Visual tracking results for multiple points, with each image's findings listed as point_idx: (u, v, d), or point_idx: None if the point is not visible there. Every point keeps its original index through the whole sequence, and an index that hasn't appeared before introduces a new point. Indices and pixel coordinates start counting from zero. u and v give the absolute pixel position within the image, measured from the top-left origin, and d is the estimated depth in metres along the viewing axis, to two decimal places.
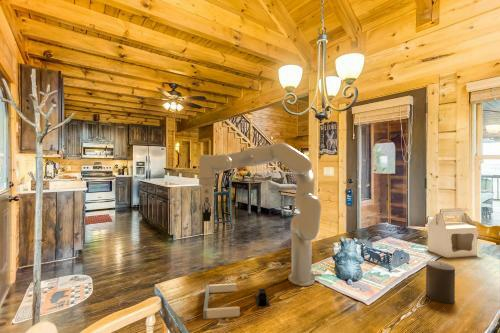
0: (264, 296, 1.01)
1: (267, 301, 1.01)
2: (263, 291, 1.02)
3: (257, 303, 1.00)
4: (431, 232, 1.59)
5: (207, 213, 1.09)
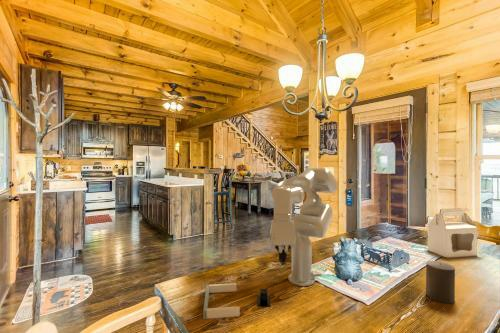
0: (265, 296, 1.00)
1: (268, 301, 1.01)
2: (264, 291, 1.02)
3: (258, 303, 1.00)
4: (431, 232, 1.59)
5: None
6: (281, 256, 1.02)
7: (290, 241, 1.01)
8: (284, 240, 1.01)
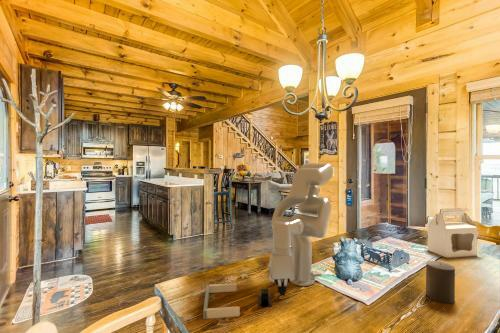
0: (266, 296, 1.00)
1: (269, 301, 1.01)
2: (265, 291, 1.02)
3: (259, 303, 1.00)
4: (431, 232, 1.59)
5: None
6: (280, 289, 1.02)
7: (289, 275, 1.02)
8: (283, 273, 1.01)
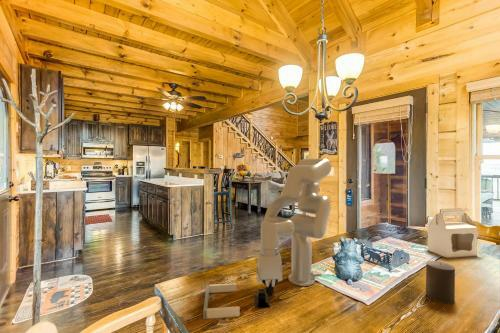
0: (263, 296, 1.00)
1: (267, 301, 1.01)
2: (263, 291, 1.02)
3: (256, 303, 1.00)
4: (431, 232, 1.59)
5: None
6: (268, 290, 1.02)
7: (276, 275, 1.01)
8: (271, 274, 1.01)
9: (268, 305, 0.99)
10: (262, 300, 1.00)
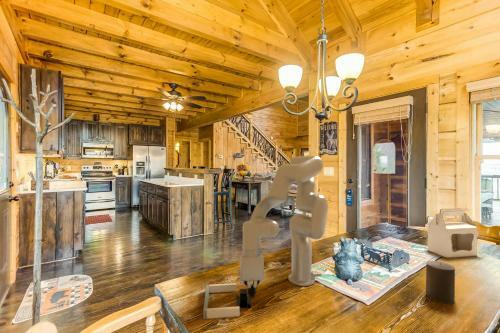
0: (245, 296, 1.00)
1: (248, 301, 1.01)
2: (244, 291, 1.02)
3: (238, 303, 1.00)
4: (431, 232, 1.59)
5: None
6: (250, 291, 1.01)
7: (258, 277, 1.00)
8: (252, 275, 1.00)
9: (249, 305, 0.98)
10: (243, 300, 1.00)
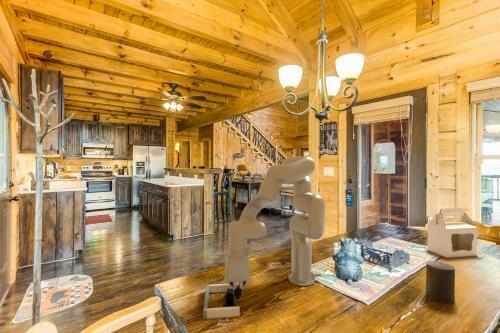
0: (231, 296, 1.00)
1: (234, 301, 1.01)
2: (231, 291, 1.02)
3: (224, 303, 1.00)
4: (431, 232, 1.59)
5: None
6: (236, 292, 1.00)
7: (244, 277, 0.99)
8: (238, 276, 0.99)
9: (235, 305, 0.99)
10: (229, 300, 1.00)
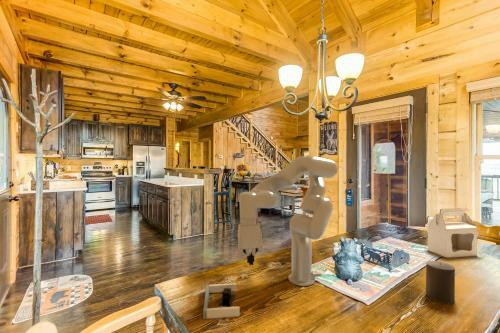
0: (227, 296, 1.01)
1: (231, 301, 1.01)
2: (227, 291, 1.02)
3: (220, 302, 1.01)
4: (431, 232, 1.59)
5: (253, 254, 1.06)
6: (249, 259, 1.04)
7: (256, 244, 1.03)
8: (250, 243, 1.03)
9: (230, 305, 0.99)
10: (226, 300, 1.01)
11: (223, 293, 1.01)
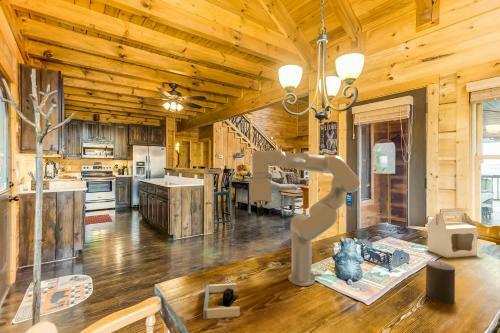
0: (227, 296, 1.00)
1: (231, 302, 1.01)
2: (228, 291, 1.02)
3: (220, 301, 1.01)
4: (431, 232, 1.59)
5: (263, 207, 1.18)
6: (259, 210, 1.16)
7: (266, 197, 1.16)
8: (261, 195, 1.15)
9: (229, 306, 0.98)
10: (226, 300, 1.01)
11: (224, 293, 1.01)
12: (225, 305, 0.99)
